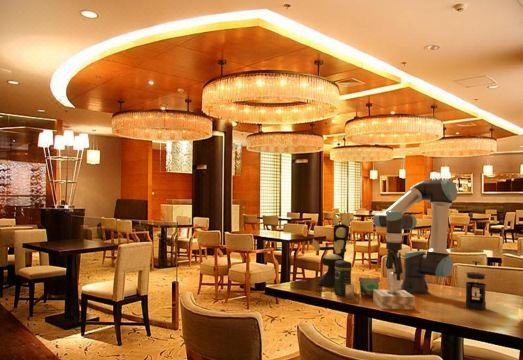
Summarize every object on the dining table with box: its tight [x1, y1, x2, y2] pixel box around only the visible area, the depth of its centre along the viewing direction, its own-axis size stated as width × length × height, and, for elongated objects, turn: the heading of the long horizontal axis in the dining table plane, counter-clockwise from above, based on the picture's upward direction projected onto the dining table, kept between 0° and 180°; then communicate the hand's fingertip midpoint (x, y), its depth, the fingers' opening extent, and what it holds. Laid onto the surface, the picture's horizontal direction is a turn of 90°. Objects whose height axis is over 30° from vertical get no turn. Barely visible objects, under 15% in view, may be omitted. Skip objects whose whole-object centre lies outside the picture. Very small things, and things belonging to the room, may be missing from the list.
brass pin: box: [344, 283, 355, 300], centre depth 241 cm, size 4×4×7 cm
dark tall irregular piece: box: [311, 210, 352, 288], centre depth 279 cm, size 19×22×45 cm
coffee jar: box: [333, 259, 353, 297], centre depth 251 cm, size 10×8×19 cm
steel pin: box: [388, 271, 399, 294], centre depth 228 cm, size 4×4×16 cm
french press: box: [465, 260, 487, 311], centre depth 226 cm, size 12×9×23 cm
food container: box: [358, 276, 381, 298], centre depth 248 cm, size 12×6×10 cm, turn 105°
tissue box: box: [372, 289, 416, 310], centre depth 227 cm, size 16×16×6 cm
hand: (393, 284), depth 228 cm, fingers open, 13 cm apart
